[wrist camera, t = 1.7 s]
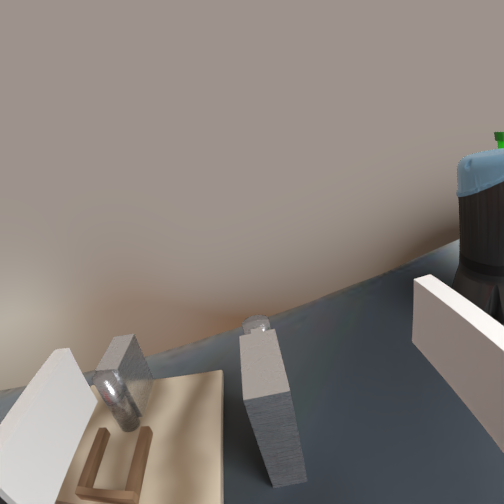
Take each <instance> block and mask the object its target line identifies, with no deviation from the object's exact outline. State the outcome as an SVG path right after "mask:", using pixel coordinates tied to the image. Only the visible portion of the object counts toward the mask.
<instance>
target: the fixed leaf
mask: <svg viewBox="0 0 504 504" xmlns="http://www.w3.org/2000/svg"><path fill="white" fill-rule="evenodd" d="M95 372H96V374H95V375H94V376H93V378H92V381H93V383H94V385H95V387H96V389H97V390H98V392H99V394H100V396H101V397H102V399H103V401H104V402H105V404H106V406H107V407H108V409H109V411H110V412H111V414H112V415H113V417H114V419H115V420H116V422H117V423H118V425H119V427H120V428H121V430H122V431H124V432H132V431H134V430H136V429H137V428H138V427H139V426H140V420H139V418H138V417H144V414H145V410H146V407H147V403H148V400H149V396H150V393H151V389H152V386H153V382H154V378H153V375H152V373H151V371H150V369H149V367H148V364H147V362H146V360H145V358H144V356H143V353H142V351H141V349H140V346H139V344H138V342H137V339H136V337H135V334H130V335H123V336H116V337H114V338H113V340H112V341H111V343H110V345H109V346H108V348H107V350H106V352H105V354H104V355H103V357H102V359H101V361H100V362H99V364H98V366H97V368H96V370H95Z"/></svg>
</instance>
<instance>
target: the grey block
mask: <svg viewBox="0 0 504 504" xmlns="http://www.w3.org/2000/svg"><path fill="white" fill-rule="evenodd" d="M242 326H243V330H244V334H245V335H243V336H239V338H240V355H241V372H242V388H243V401H244V404H245V407H246V410H247V413H248V416H249V419H250V422H251V425H252V428H253V431H254V434H255V437H256V440H257V443H258V446H259V449H260V451H261V454H262V457H263V460H264V463H265V466H266V468H267V471H268V474H269V477H270V479H271V482H272V485H273V488H276V487H282V486H287V485H292V484H297V483H302V482H306V481H307V476H306V471H305V465H304V460H303V455H302V450H301V444H300V439H299V434H298V429H297V424H296V418H295V413H294V408H293V403H292V398H291V393H290V388H289V384H288V380H287V376H286V372H285V368H284V364H283V360H282V356H281V352H280V348H279V344H278V340H277V336H276V332H275V329H271V328H270V323H269V319H268V317H267V316H264V315H254V316H251V317H248V318H247V319H245V320H244V321H243V323H242Z"/></svg>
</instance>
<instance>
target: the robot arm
mask: <svg viewBox="0 0 504 504" xmlns="http://www.w3.org/2000/svg"><path fill="white" fill-rule="evenodd" d="M457 182H458V190H457V196H458V198H459V219H460V254H459V266H458V269H457V272H456V275H455V278H454V282H453V285H452V288H450V287H449V286H447V285H446V284H444V283H443V282H441V281H440V280H438V279H437V278H435V277H434V276H432V275H431V274H430V275H426V276H423V277H419V278H416V279H414V306H413V332H412V342H413V343H414V344H415V346H416V347H417V348H418V349H419V350H420V351H421V352H422V354H423V355H424V356H425V357H426V358H427V359H428V360H429V362H430V363H431V364H432V365H433V366H434V367H435V369H436V370H437V371H438V372H439V373H440V374H441V376H442V377H443V378H444V379H445V380H446V381H447V383H448V384H449V385H450V386H451V387H452V389H453V390H454V391H455V392H456V393H457V395H458V396H459V397H460V398H461V400H462V401H463V402H464V403H465V404H466V406H467V407H468V408H469V409H470V411H471V412H472V413H473V414H474V416H475V417H476V418H477V419H478V421H479V422H480V423H481V424H482V426H483V427H484V428H485V429H486V431H487V432H488V433H489V435H490V436H491V437H492V438H493V440H494V441H495V442H496V444H497V445H498V446H499V448H500V449H501V450H502V452H503V453H504V148H501V149H495V150H489V151H483V152H478V153H474V154H471V155H468V156H465V157H464V158H462V159H461V160H460V162H459V164H458V167H457ZM97 402H98V401H97V399H96V397H95V396H94V394H93V392H92V390H91V389H90V387H89V385H88V383H87V381H86V380H85V378H84V376H83V374H82V373H81V370H80V368H79V367H78V365H77V363H76V361H75V359H74V357H73V355H72V353H71V351H70V349H69V348H65V349H56V350H54V352H53V353H52V354H51V355H50V357H49V358H48V359H47V361H46V362H45V363H44V365H43V366H42V367H41V368H40V370H39V371H38V372H37V374H36V375H35V376H34V378H33V379H32V380H31V382H30V383H29V384H28V386H27V387H26V388H25V390H24V391H23V393H22V394H21V395H20V397H19V398H18V400H17V401H16V402H15V404H14V405H13V407H12V408H11V410H10V411H9V412H8V414H7V415H6V417H5V418H4V420H3V421H2V423H1V424H0V504H55V501H56V499H57V496H58V493H59V491H60V488H61V486H62V483H63V481H64V478H65V476H66V473H67V471H68V468H69V466H70V463H71V461H72V458H73V456H74V454H75V451H76V449H77V447H78V444H79V442H80V440H81V437H82V435H83V433H84V431H85V428H86V426H87V424H88V422H89V419H90V417H91V415H92V413H93V411H94V408H95V406H96V404H97Z"/></svg>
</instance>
